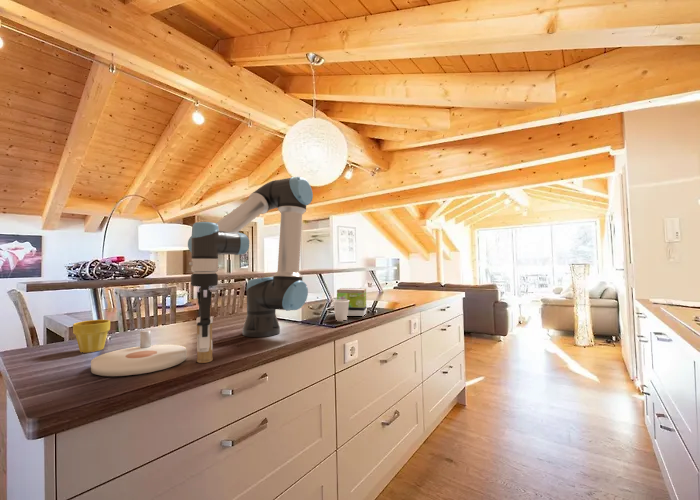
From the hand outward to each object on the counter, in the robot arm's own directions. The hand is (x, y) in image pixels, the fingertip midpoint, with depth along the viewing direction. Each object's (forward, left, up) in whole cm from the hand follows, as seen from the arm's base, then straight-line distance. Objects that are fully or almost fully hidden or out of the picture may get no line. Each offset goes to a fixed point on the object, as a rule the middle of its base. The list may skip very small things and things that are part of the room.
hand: (203, 343), depth 104 cm
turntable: (+17, -5, -5) cm, 18 cm away
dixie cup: (-65, -46, -6) cm, 80 cm away
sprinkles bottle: (0, 0, -6) cm, 6 cm away
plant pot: (+35, -33, -6) cm, 48 cm away
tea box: (-76, -57, -6) cm, 96 cm away
